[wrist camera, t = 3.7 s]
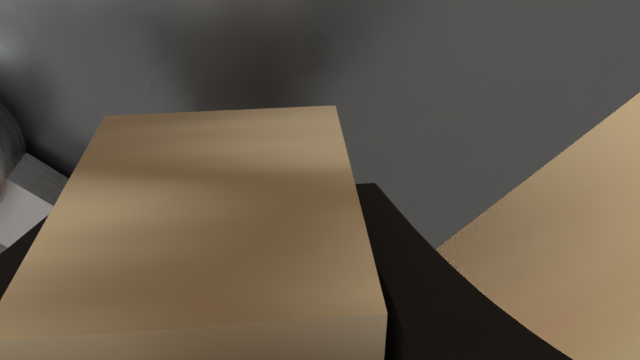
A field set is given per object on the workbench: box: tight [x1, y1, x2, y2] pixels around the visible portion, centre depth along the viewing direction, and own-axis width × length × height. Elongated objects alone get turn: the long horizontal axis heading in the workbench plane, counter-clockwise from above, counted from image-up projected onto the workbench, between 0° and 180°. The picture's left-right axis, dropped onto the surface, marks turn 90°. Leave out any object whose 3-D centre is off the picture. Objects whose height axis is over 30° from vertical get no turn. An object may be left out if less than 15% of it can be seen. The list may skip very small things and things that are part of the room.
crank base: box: [0, 0, 640, 254], centre depth 14 cm, size 18×16×1 cm
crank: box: [0, 101, 69, 247], centre depth 13 cm, size 12×4×5 cm, turn 46°
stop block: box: [0, 105, 387, 360], centre depth 9 cm, size 4×4×5 cm
